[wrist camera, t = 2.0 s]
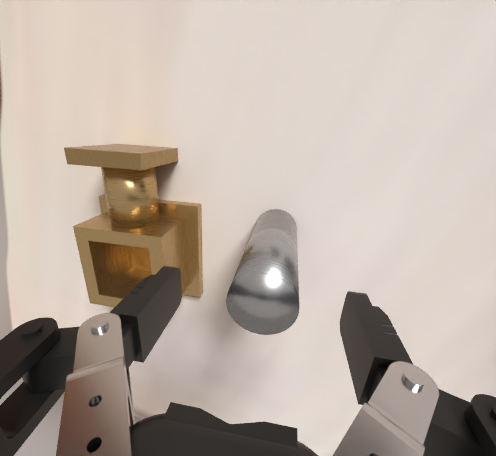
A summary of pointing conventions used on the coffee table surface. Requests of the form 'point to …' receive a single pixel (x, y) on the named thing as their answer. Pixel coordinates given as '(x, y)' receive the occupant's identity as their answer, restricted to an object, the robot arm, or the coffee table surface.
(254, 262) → the silver round-ended rod
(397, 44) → the coffee table surface
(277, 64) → the coffee table surface
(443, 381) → the coffee table surface
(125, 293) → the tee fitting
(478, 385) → the coffee table surface
